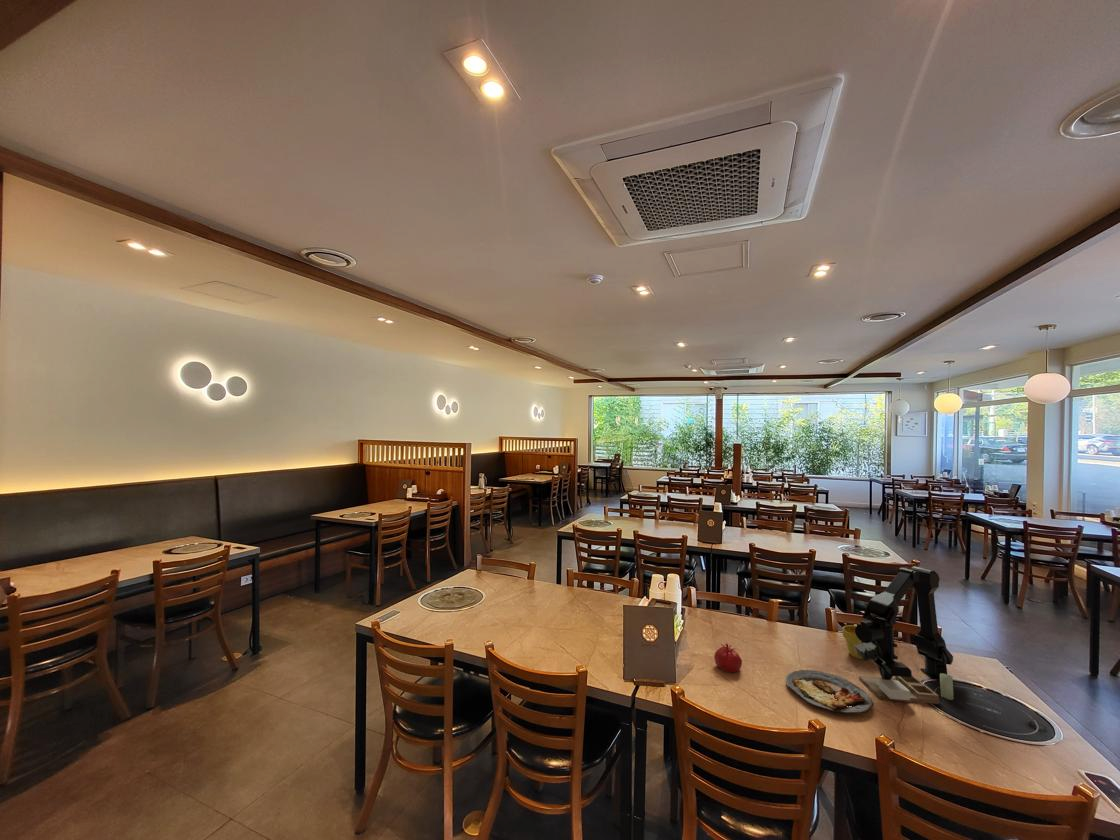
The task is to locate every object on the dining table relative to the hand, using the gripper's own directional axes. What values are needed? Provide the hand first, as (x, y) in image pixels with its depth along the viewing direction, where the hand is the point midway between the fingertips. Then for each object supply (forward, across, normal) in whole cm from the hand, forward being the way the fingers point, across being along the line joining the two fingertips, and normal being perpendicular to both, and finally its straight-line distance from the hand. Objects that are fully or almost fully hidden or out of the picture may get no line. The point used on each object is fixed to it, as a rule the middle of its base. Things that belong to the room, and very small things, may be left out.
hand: (885, 683), depth 144 cm
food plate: (+3, +5, -21) cm, 22 cm away
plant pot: (+3, -25, +4) cm, 26 cm away
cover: (+1, +5, 0) cm, 5 cm away
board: (+3, -1, +4) cm, 5 cm away
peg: (+3, +1, +18) cm, 19 cm away
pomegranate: (+3, -8, -50) cm, 51 cm away
